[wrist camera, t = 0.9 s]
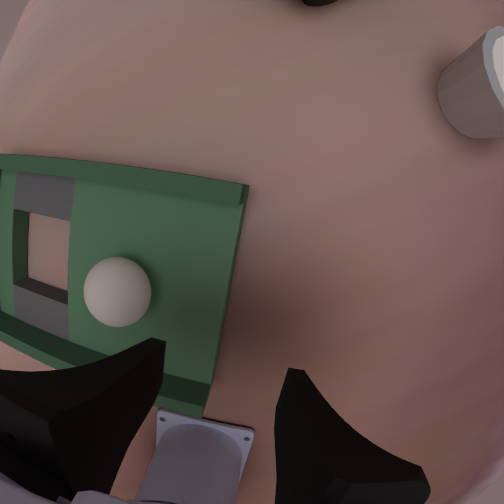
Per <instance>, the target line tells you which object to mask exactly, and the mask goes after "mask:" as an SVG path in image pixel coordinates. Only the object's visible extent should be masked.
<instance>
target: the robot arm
mask: <svg viewBox="0 0 504 504" xmlns="http://www.w3.org/2000/svg"><path fill="white" fill-rule="evenodd" d="M165 349H166V341H163V340H160V339H156V338H153V337H151V338H149V339H146V340H144V341H142V342H140V343H138V344H136V345H134V346H132V347H130V348H128V349H125V350H123V351H121V352H119V353H117V354H114V355H111V356H109V357H106V358H104V359H101V360H98V361H95V362H92V363H89V364H85V365H81V366H77V367H72V368H66V369H59V370H52V371H34V372H27V371H11V370H1V369H0V504H236V500H237V492H238V485H239V482H240V479H241V476H242V473H243V470H244V466H245V463H246V460H247V457H248V454H249V451H250V448H251V445H252V441H253V438H254V430H252V429H250V428H244V427H239V426H234V425H229V424H224V423H219V422H215V421H210V420H206V419H202V418H197V417H193V416H189V415H186V414H182V413H178V412H174V411H171V410H167V409H163V408H161V409H159V410H158V412H157V430H156V450H155V453H154V455H153V457H152V460H151V462H150V464H149V467H148V469H147V471H146V473H145V476H144V478H143V480H142V483H141V485H140V487H139V490H138V492H137V494H136V496H135V499H134V500H132V499H128V501H125V500H122V499H120V498H117V497H114V496H112V495H109V494H110V491H111V488H112V485H113V483H114V480H115V478H116V475H117V473H118V470H119V468H120V465H121V463H122V460H123V458H124V456H125V453H126V451H127V449H128V447H129V445H130V443H131V441H132V439H133V438H134V436H135V434H136V433H137V431H138V429H139V428H140V426H141V424H142V423H143V421H144V419H145V418H146V416H147V414H148V413H149V411H150V409H151V408H152V406H153V404H154V403H155V401H156V398H157V396H158V394H159V391H160V389H161V386H162V384H163V373H164V361H165ZM162 417H163V418H165V419H163V418H162ZM274 436H275V454H276V472H277V482H276V495H275V504H424V503H425V502H426V500H427V499H428V498H429V495H430V492H431V489H430V485H429V483H428V481H427V478H426V476H425V474H424V472H423V469H422V468H421V466H418V465H416V464H413V463H411V462H408V461H406V460H403V459H401V458H399V457H396V456H394V455H393V454H391V453H389V452H387V451H385V450H383V449H382V448H380V447H378V446H377V445H375V444H373V443H372V442H371V441H369V440H368V439H366V438H365V437H363V436H362V435H361V434H359V433H358V432H357V431H356V430H354V429H353V428H352V427H351V426H350V425H349V424H348V423H347V422H345V421H344V420H343V419H342V418H341V417H340V416H339V415H338V413H337V412H336V411H335V410H334V409H333V408H332V407H331V406H330V405H329V403H328V402H327V401H326V400H325V399H324V397H323V396H322V395H321V393H320V392H319V391H318V389H317V388H316V387H315V385H314V384H313V382H312V381H311V379H310V378H309V377H308V375H307V374H306V372H305V371H304V370H299V369H293V368H288V371H287V374H286V377H285V380H284V384H283V387H282V390H281V393H280V397H279V400H278V403H277V406H276V413H275V424H274ZM245 437H249V438H245Z"/></svg>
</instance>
